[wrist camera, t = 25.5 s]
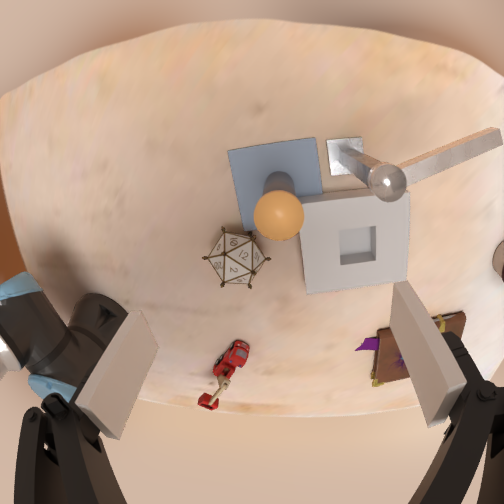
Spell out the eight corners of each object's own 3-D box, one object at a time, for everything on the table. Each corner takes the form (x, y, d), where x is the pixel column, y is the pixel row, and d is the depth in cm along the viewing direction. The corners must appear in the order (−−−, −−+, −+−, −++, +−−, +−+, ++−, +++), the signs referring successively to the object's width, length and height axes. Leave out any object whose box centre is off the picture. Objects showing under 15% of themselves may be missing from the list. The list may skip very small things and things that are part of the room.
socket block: (305, 280, 46) (306, 294, 43) (294, 196, 40) (295, 204, 37) (398, 267, 44) (406, 280, 40) (399, 185, 38) (410, 192, 34)
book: (353, 327, 51) (358, 344, 47) (461, 305, 47) (472, 318, 43) (351, 382, 57) (354, 398, 53) (446, 360, 53) (454, 374, 49)
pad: (244, 229, 43) (244, 231, 43) (228, 150, 38) (227, 151, 38) (324, 219, 41) (325, 220, 41) (314, 137, 36) (315, 137, 36)
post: (330, 174, 38) (358, 208, 24) (326, 139, 36) (354, 153, 22) (364, 171, 38) (408, 203, 24) (360, 136, 36) (406, 150, 22)
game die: (241, 247, 49) (213, 298, 44) (215, 212, 43) (180, 266, 39) (287, 251, 44) (261, 309, 39) (264, 211, 38) (230, 274, 33)
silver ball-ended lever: (496, 149, 19) (504, 152, 18) (374, 202, 24) (379, 208, 22) (488, 119, 18) (497, 120, 17) (362, 170, 23) (367, 173, 21)
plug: (264, 203, 41) (257, 243, 29) (259, 170, 39) (249, 196, 27) (298, 199, 40) (306, 238, 28) (294, 166, 38) (301, 190, 26)
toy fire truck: (252, 344, 54) (246, 383, 45) (219, 378, 59) (211, 413, 51) (237, 336, 53) (229, 375, 44) (205, 372, 59) (196, 406, 50)
